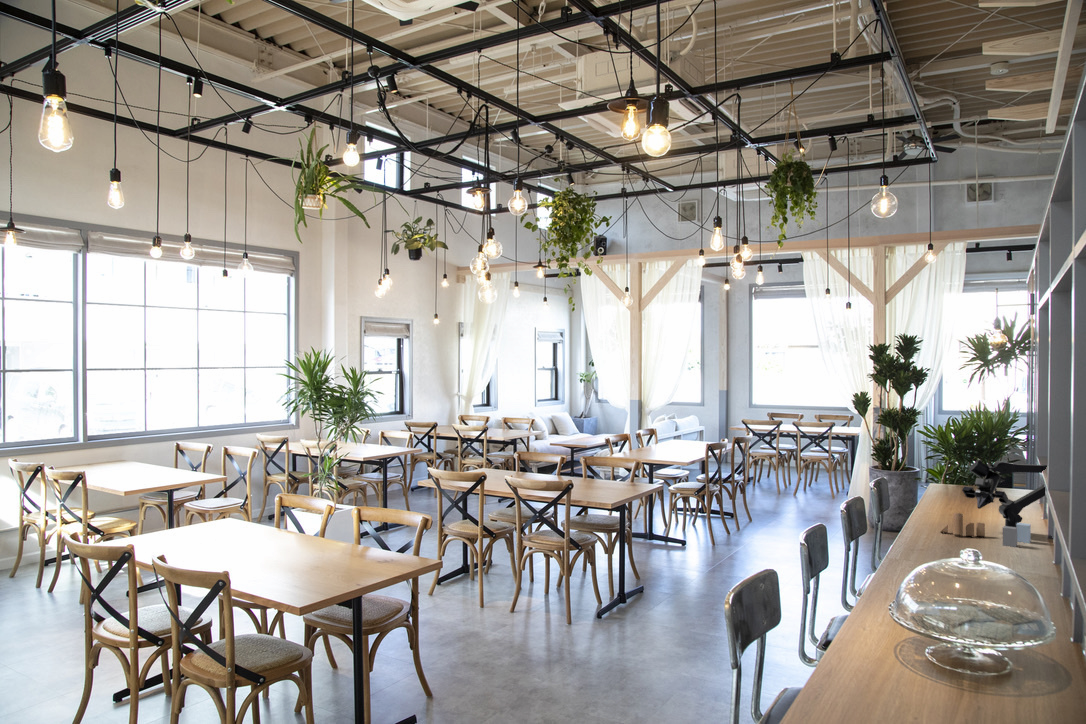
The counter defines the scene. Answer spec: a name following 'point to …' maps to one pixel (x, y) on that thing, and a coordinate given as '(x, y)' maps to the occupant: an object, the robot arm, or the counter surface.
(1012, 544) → the gray rectangular block
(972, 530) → the wooden block set
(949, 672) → the counter surface
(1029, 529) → the slate blue block
